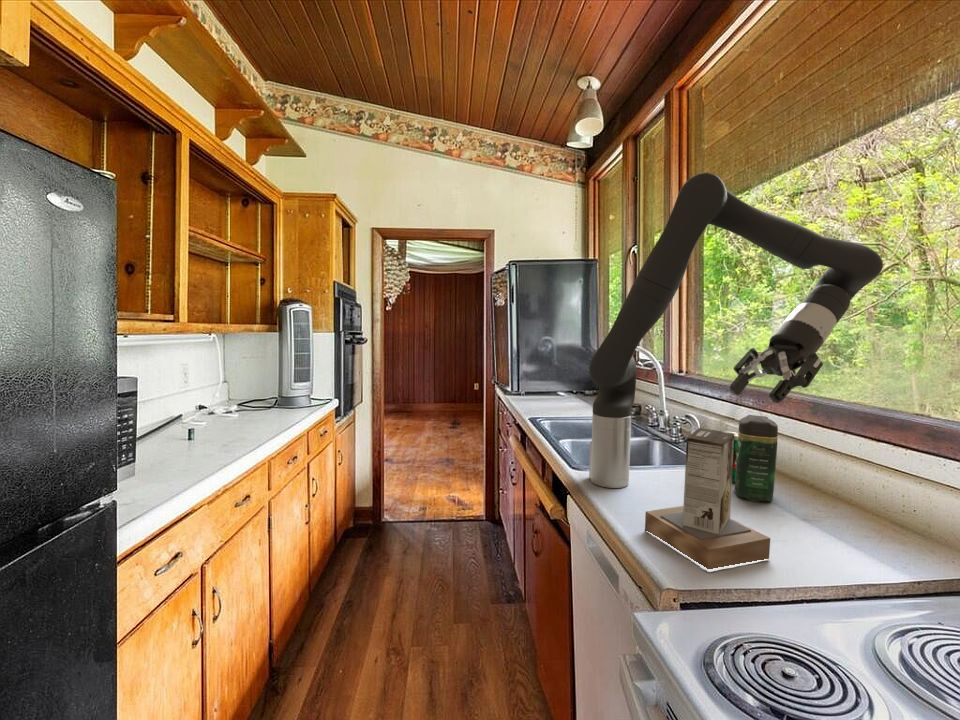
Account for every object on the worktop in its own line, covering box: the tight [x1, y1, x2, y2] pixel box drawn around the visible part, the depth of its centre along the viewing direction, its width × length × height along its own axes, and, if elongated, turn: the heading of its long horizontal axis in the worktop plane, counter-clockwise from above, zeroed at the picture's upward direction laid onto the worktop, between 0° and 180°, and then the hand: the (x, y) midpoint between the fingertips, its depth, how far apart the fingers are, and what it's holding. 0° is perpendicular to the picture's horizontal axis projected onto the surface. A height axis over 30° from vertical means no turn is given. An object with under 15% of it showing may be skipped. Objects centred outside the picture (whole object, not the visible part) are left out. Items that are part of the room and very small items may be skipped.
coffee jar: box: [734, 414, 779, 503], centre depth 113 cm, size 10×8×19 cm
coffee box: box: [682, 428, 735, 535], centre depth 88 cm, size 9×6×16 cm
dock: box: [644, 505, 771, 569], centre depth 88 cm, size 16×13×4 cm
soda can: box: [725, 431, 738, 484], centre depth 123 cm, size 5×5×12 cm
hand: (752, 395), depth 89 cm, fingers open, 8 cm apart
